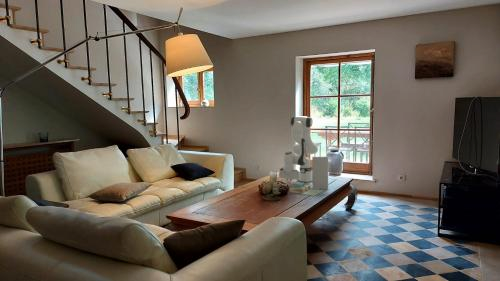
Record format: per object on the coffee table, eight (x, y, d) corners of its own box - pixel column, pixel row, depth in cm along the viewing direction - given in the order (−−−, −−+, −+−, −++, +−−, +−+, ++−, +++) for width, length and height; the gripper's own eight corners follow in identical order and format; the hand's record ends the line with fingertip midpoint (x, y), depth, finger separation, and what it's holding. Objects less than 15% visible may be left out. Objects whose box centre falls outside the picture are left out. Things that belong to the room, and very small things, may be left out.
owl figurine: (284, 199, 297) (283, 179, 295) (276, 202, 287) (275, 182, 285) (266, 196, 308) (266, 177, 306) (258, 199, 299) (258, 179, 297)
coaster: (297, 185, 329) (297, 181, 329) (305, 186, 325) (305, 182, 324) (293, 186, 323) (293, 183, 323) (301, 187, 318) (301, 184, 318)
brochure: (327, 187, 333) (327, 156, 330) (328, 188, 328) (328, 157, 325) (312, 187, 335) (312, 156, 331) (312, 188, 329) (312, 157, 326)
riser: (299, 187, 334) (298, 183, 334) (310, 189, 327) (310, 185, 327) (289, 192, 320) (289, 187, 319) (301, 193, 313) (301, 189, 312)
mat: (311, 189, 328) (311, 188, 328) (323, 190, 321) (323, 190, 321) (302, 194, 311) (302, 193, 311) (314, 195, 305) (314, 195, 304)
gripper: (300, 169, 325) (300, 183, 326) (281, 167, 337) (281, 181, 338) (297, 170, 320) (297, 185, 321) (278, 168, 332) (278, 182, 333)
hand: (289, 183), depth 330 cm, fingers closed
